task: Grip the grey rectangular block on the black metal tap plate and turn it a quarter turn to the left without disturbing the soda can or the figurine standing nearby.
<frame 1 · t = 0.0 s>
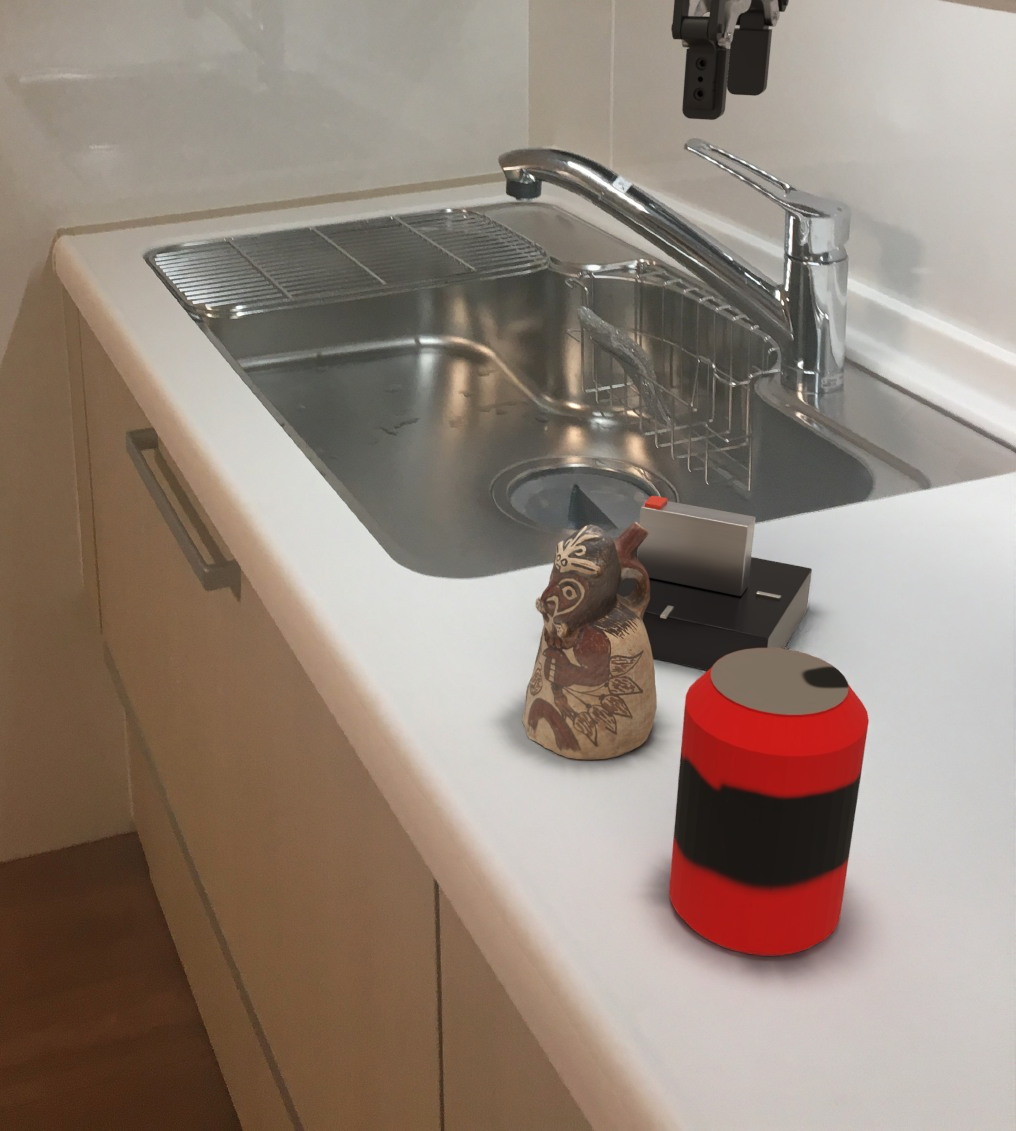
hand: (725, 105, 89), 30 cm above the table, tool pointing down, fingers open, 8 cm apart
tap plate: (687, 624, 95), on the table
soda can: (752, 909, 71), on the table
figurine: (588, 727, 86), on the table
grey rectangular block: (694, 544, 93), point 5 cm above the table, hinge at 0.0°
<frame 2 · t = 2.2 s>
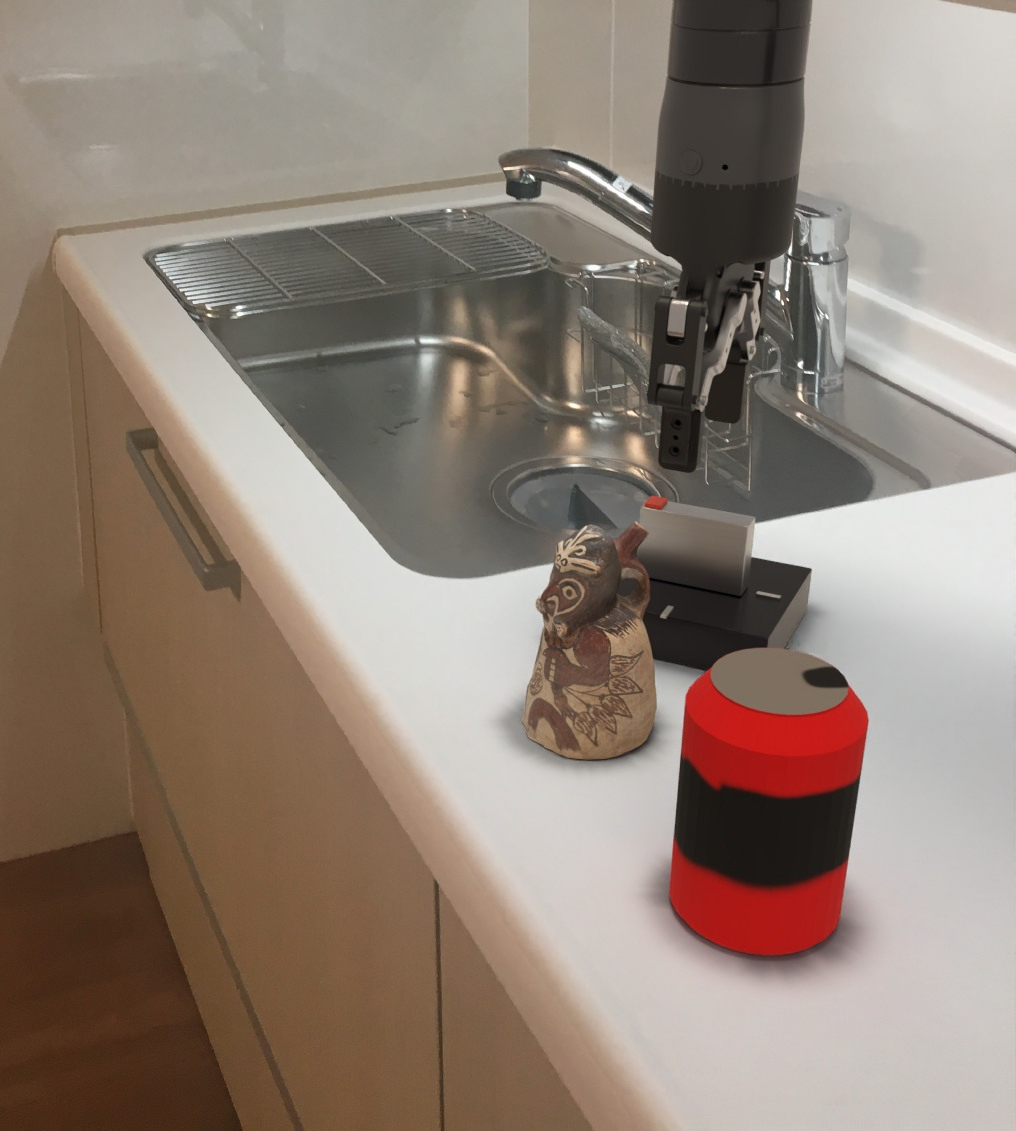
hand: (701, 443, 90), 12 cm above the table, tool pointing down, fingers open, 8 cm apart
nothing on the table moved.
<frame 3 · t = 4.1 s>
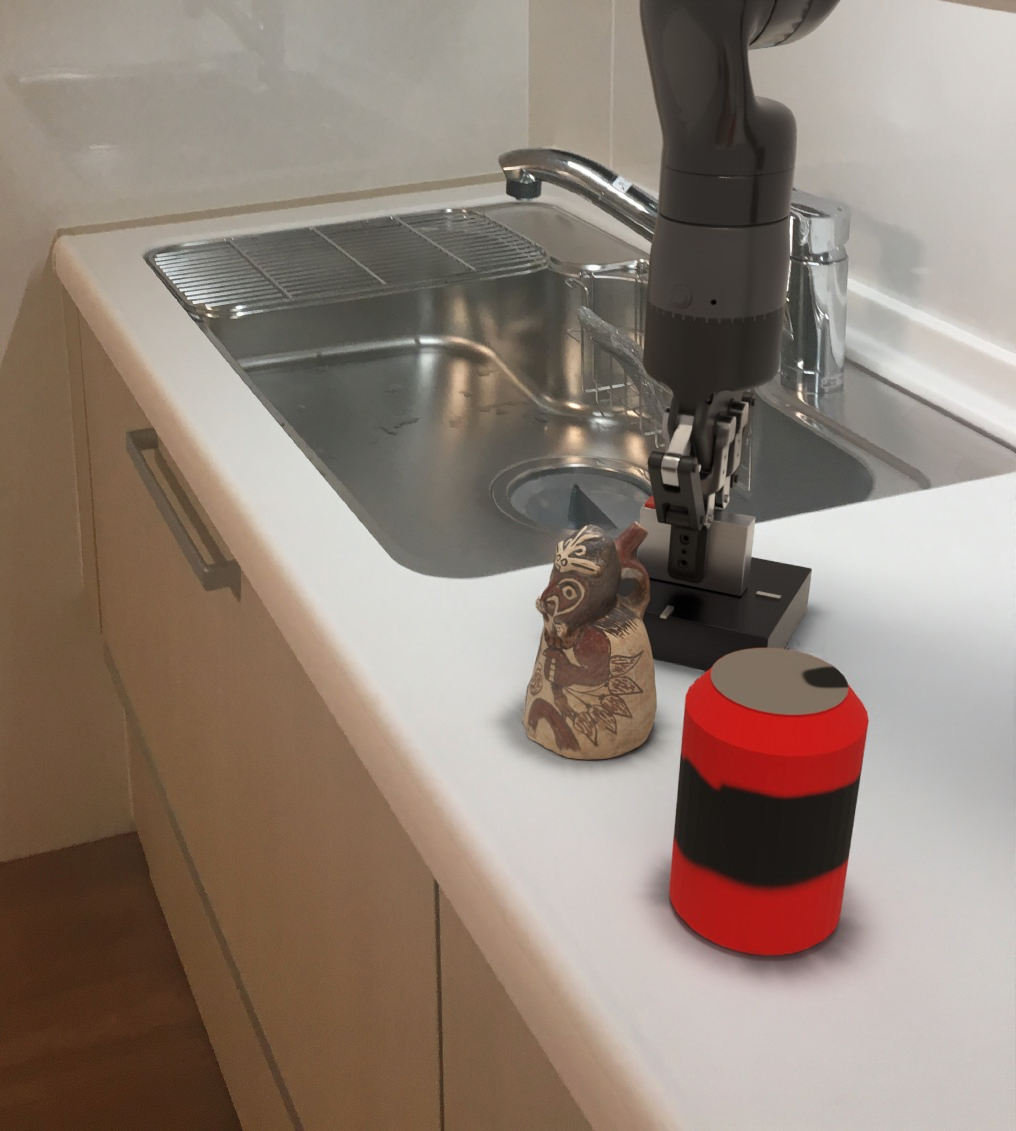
hand: (692, 570, 94), 4 cm above the table, tool pointing down, fingers closed on grey rectangular block
grey rectangular block: (694, 544, 93), point 5 cm above the table, hinge at 0.0°, touching gripper
everything else where it was.
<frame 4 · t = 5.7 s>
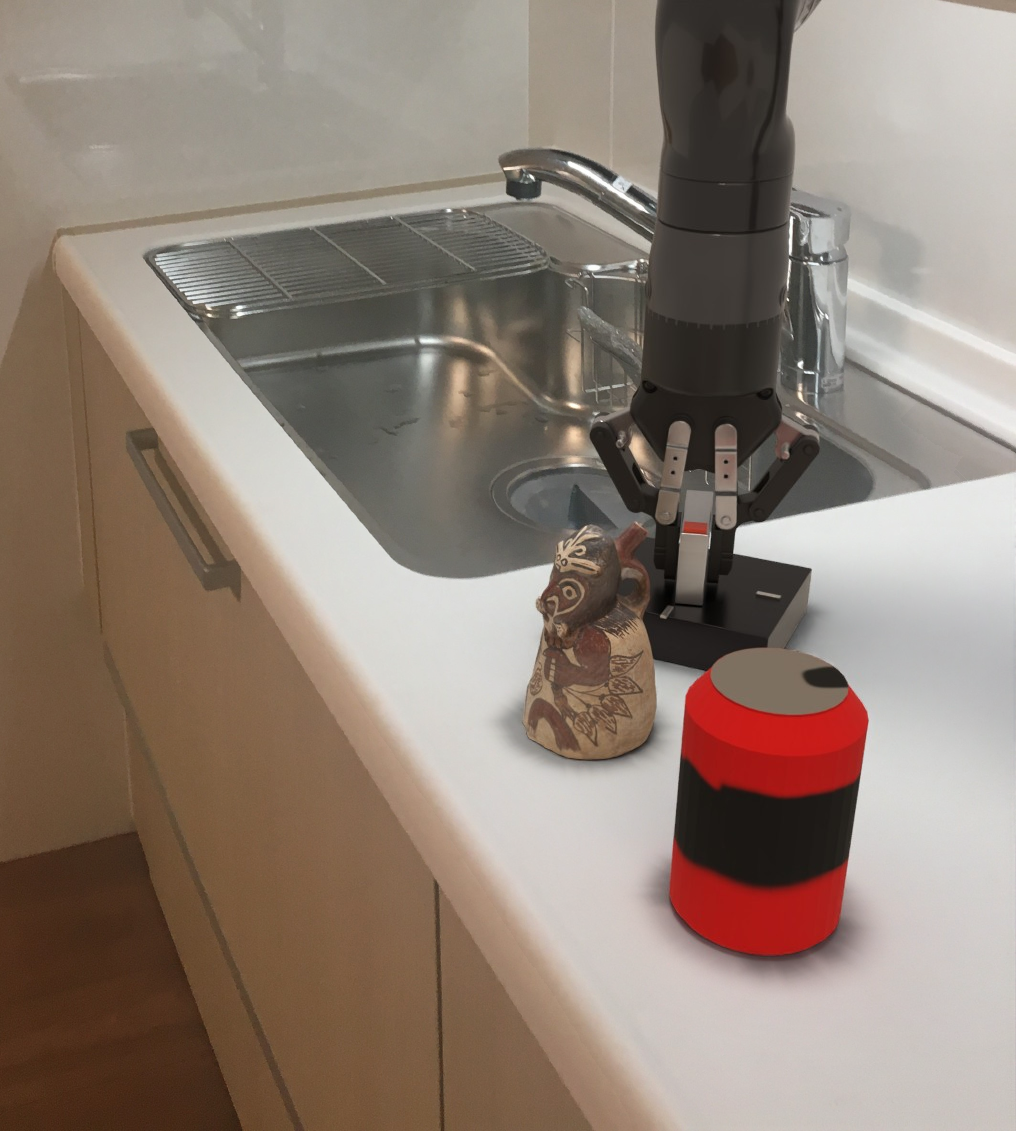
hand: (691, 574, 94), 3 cm above the table, tool pointing down, fingers closed
grey rectangular block: (694, 544, 93), point 5 cm above the table, hinge at 104.5°
everything else where it was.
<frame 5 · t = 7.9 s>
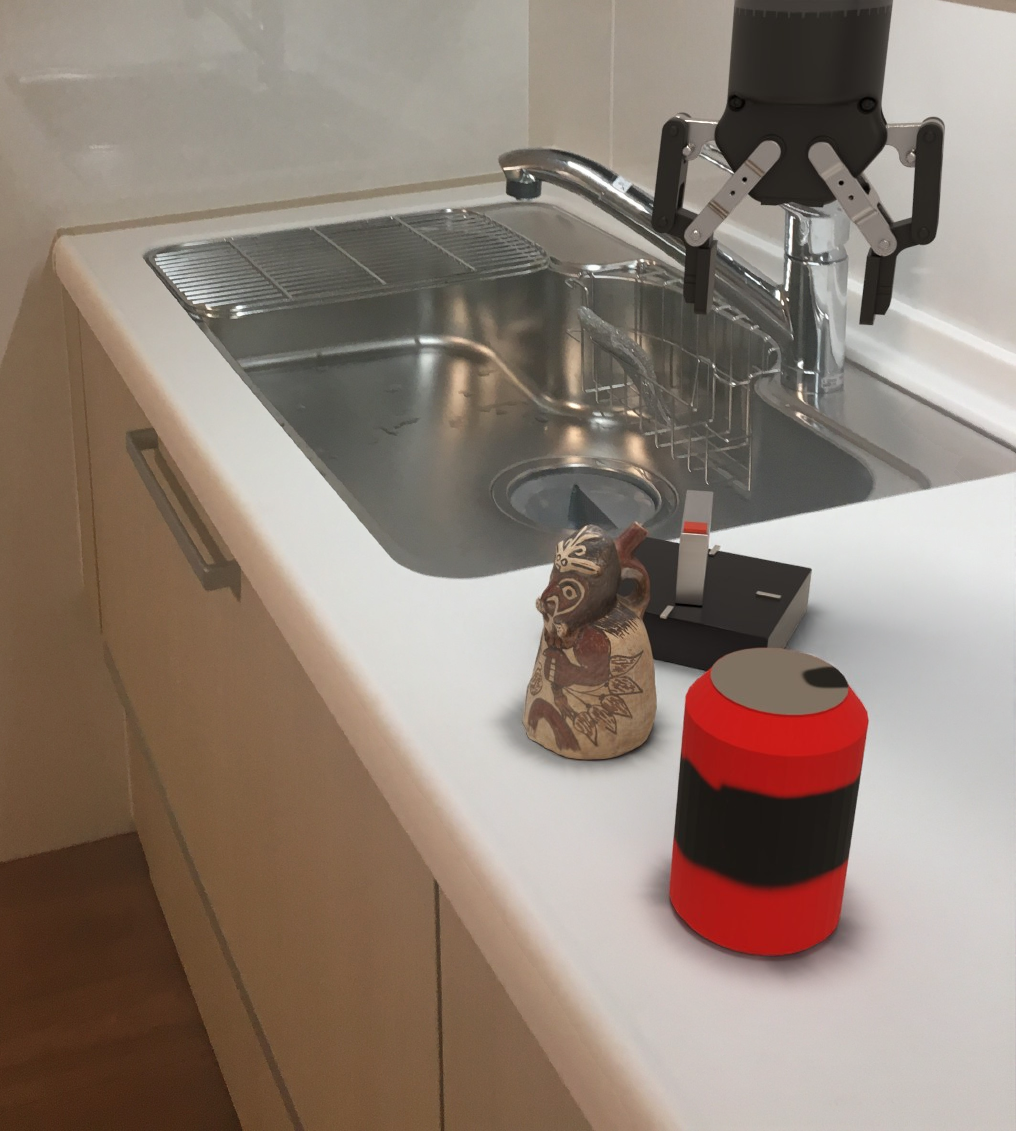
hand: (783, 316, 83), 21 cm above the table, tool pointing down, fingers open, 8 cm apart
nothing on the table moved.
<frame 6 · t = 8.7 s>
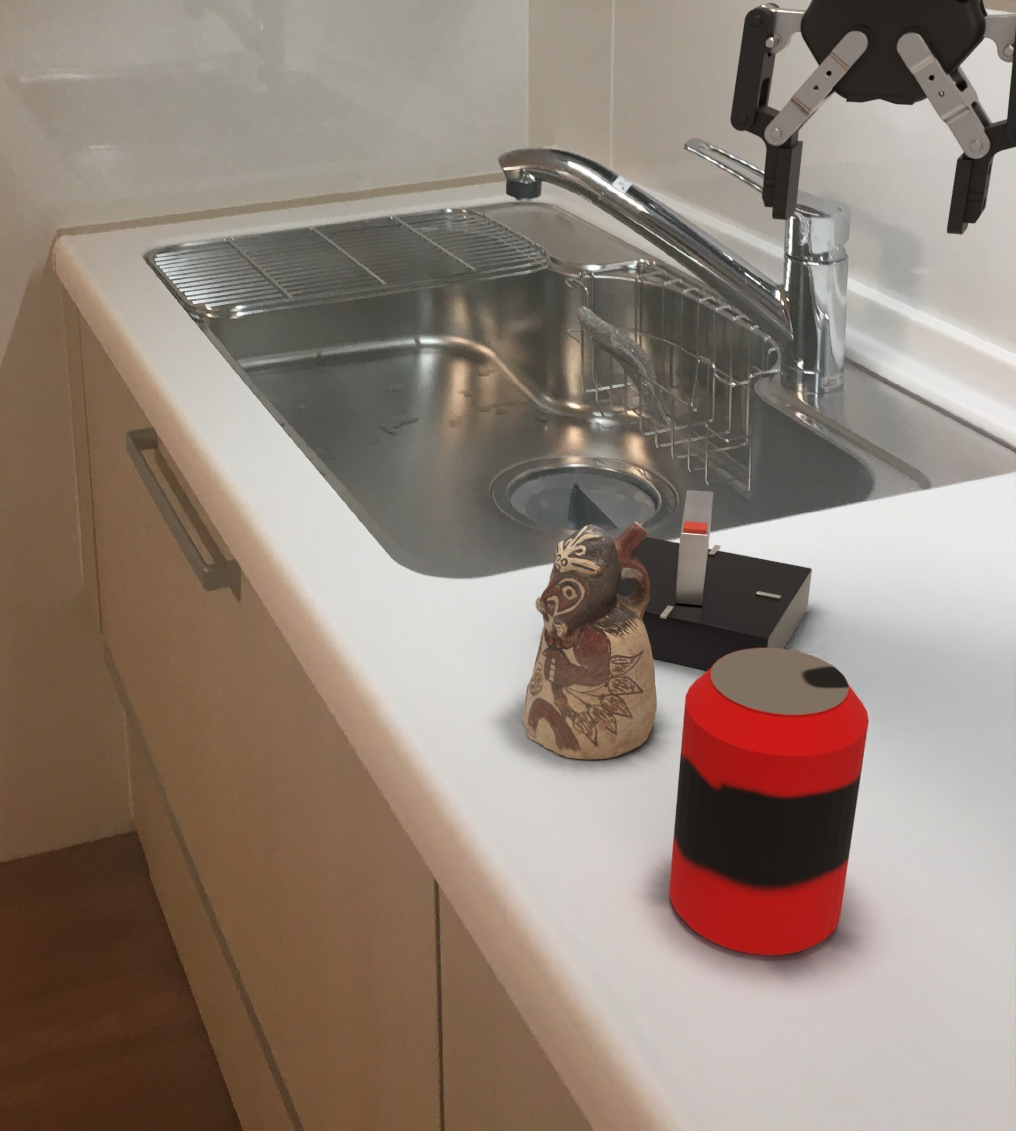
hand: (867, 223, 79), 26 cm above the table, tool pointing down, fingers open, 8 cm apart
nothing on the table moved.
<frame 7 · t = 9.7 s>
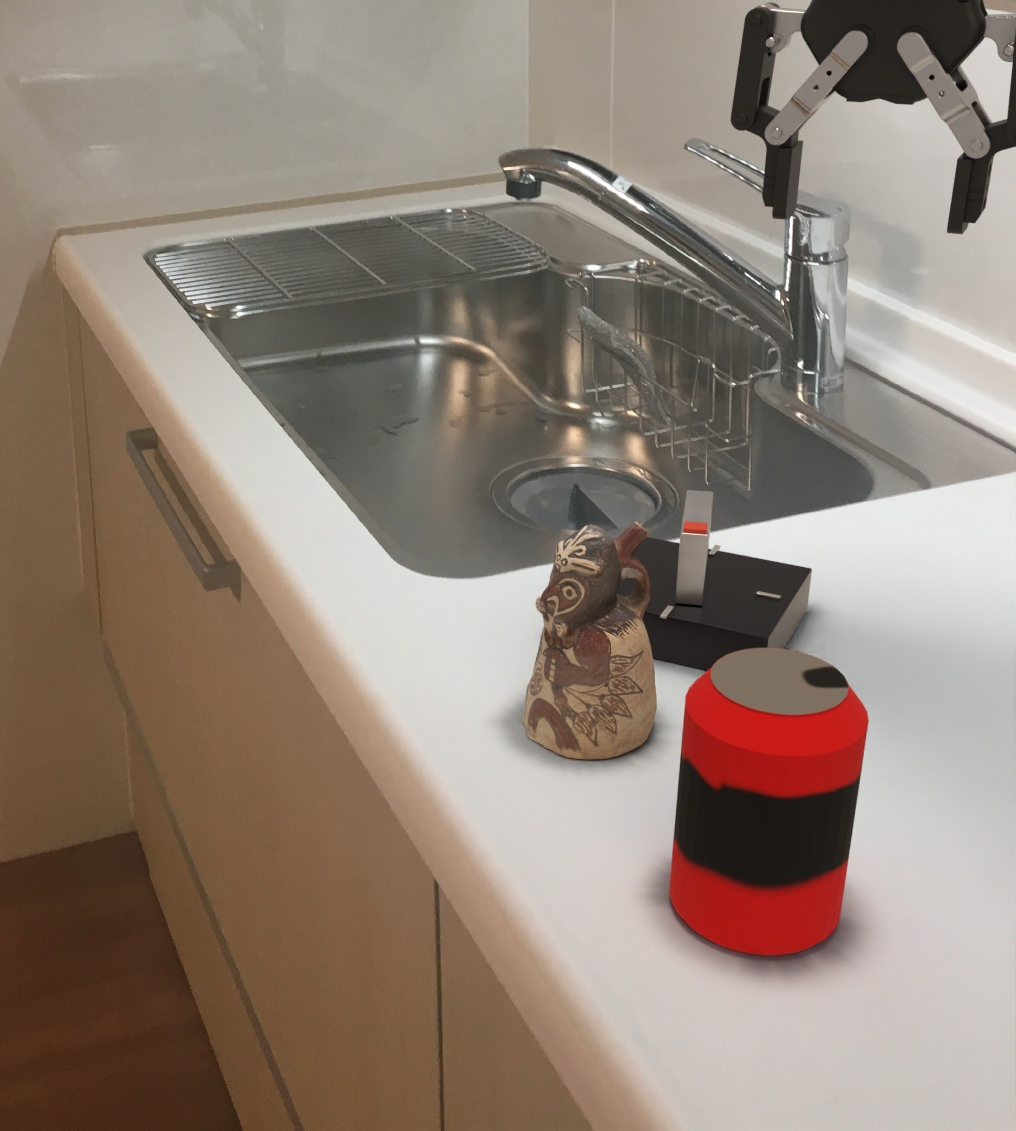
hand: (867, 223, 79), 26 cm above the table, tool pointing down, fingers open, 8 cm apart
nothing on the table moved.
at the end: grey rectangular block at +104° (first picture: +0°); soda can moved 0.2 cm from its start; figurine moved 0.2 cm from its start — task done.
